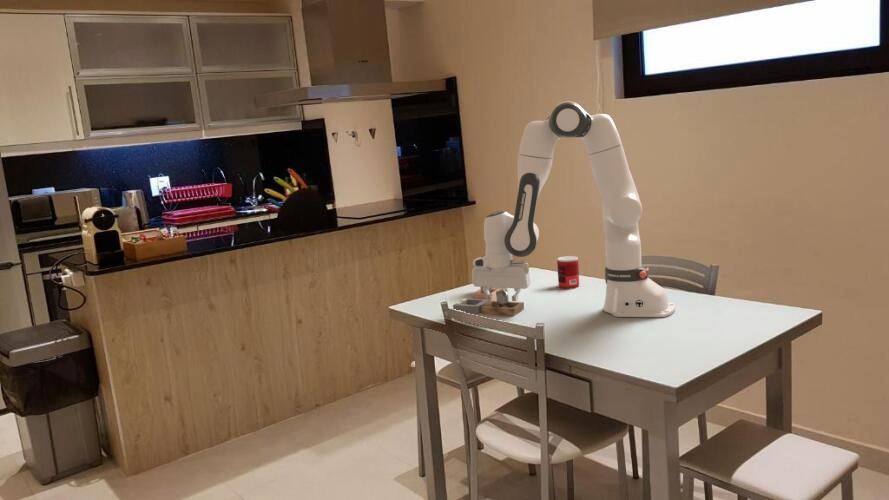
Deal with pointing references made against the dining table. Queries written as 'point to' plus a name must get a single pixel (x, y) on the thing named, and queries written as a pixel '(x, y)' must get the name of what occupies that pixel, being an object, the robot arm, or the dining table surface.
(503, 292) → the cell
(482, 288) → the cell
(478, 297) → the pink square tray
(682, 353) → the dining table surface
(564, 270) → the canned food
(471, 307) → the grey square tray
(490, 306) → the trough
